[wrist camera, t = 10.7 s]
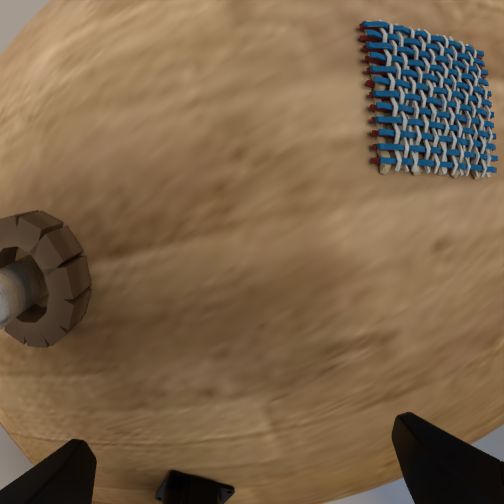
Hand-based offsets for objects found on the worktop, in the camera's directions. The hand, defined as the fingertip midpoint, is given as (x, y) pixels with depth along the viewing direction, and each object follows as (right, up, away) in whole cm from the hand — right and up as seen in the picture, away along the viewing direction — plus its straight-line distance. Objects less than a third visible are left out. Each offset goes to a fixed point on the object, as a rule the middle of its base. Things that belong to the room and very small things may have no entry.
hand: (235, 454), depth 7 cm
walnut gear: (-14, +4, +11) cm, 18 cm away
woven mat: (+12, +16, +10) cm, 22 cm away
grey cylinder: (-14, +4, +11) cm, 18 cm away
